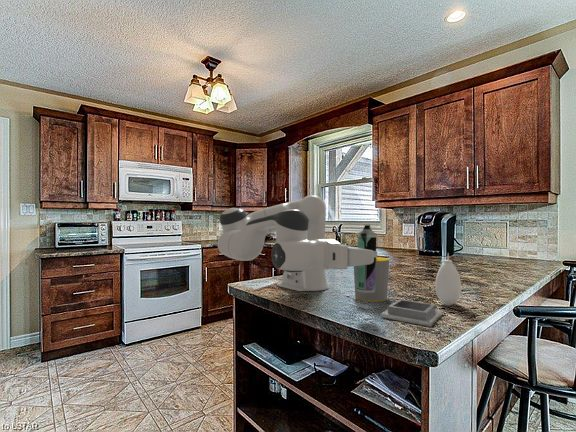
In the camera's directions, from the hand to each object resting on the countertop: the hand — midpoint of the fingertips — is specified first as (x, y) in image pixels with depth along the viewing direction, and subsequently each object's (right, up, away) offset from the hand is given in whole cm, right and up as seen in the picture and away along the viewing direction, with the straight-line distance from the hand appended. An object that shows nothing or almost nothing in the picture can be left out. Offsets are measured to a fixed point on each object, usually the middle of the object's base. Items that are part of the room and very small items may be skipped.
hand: (369, 252), depth 99 cm
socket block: (+13, -19, 0) cm, 23 cm away
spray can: (-1, -12, 0) cm, 12 cm away
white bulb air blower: (+31, -20, +14) cm, 39 cm away
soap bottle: (+6, -20, +23) cm, 31 cm away
